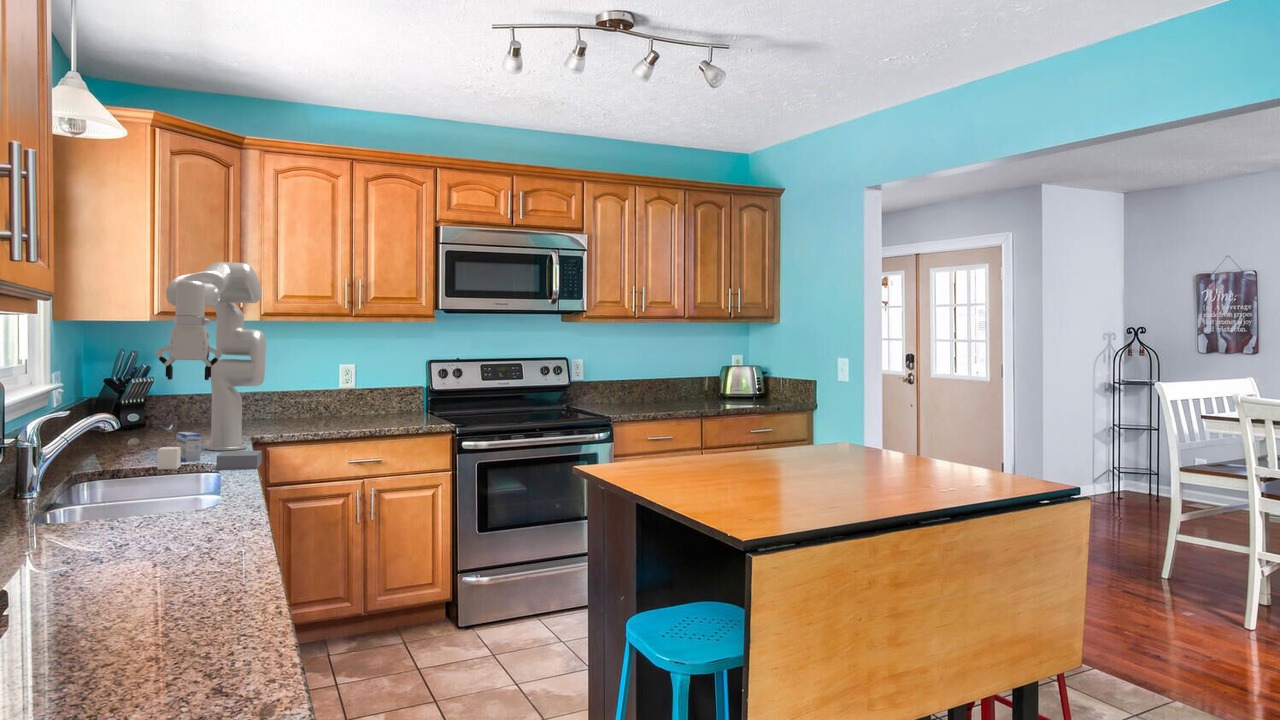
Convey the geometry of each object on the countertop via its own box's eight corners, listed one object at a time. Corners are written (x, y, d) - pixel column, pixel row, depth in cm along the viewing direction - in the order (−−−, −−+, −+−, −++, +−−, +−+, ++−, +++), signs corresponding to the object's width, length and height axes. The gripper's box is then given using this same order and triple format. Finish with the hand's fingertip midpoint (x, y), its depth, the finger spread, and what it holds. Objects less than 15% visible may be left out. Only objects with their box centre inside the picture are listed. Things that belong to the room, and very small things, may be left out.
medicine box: (175, 459, 251) (175, 432, 251) (190, 458, 255) (190, 431, 255) (185, 462, 247) (186, 434, 246) (200, 460, 250) (201, 433, 250)
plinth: (222, 463, 245) (222, 451, 245) (261, 463, 248) (261, 450, 248) (216, 469, 234) (216, 456, 234) (257, 468, 238) (257, 455, 238)
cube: (161, 467, 237) (161, 447, 236) (180, 466, 238) (180, 446, 238) (157, 469, 232) (157, 449, 232) (176, 469, 233) (176, 449, 233)
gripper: (224, 323, 241) (222, 379, 241) (159, 321, 235) (157, 379, 234) (220, 323, 234) (219, 380, 234) (153, 320, 228) (152, 379, 227)
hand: (188, 379), depth 234 cm, fingers open, 9 cm apart
